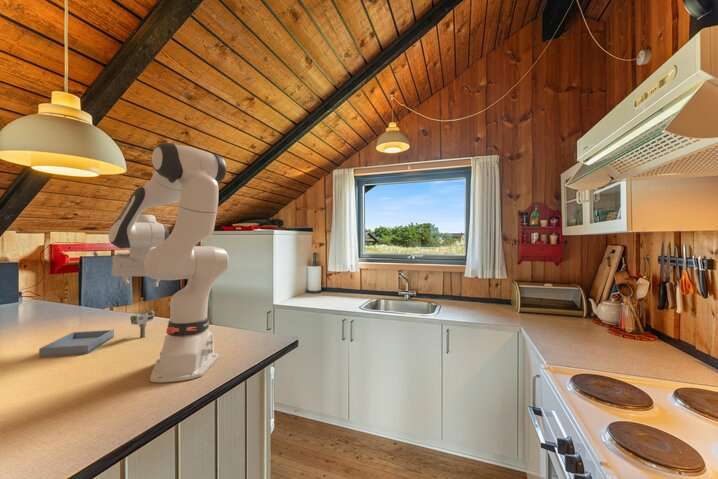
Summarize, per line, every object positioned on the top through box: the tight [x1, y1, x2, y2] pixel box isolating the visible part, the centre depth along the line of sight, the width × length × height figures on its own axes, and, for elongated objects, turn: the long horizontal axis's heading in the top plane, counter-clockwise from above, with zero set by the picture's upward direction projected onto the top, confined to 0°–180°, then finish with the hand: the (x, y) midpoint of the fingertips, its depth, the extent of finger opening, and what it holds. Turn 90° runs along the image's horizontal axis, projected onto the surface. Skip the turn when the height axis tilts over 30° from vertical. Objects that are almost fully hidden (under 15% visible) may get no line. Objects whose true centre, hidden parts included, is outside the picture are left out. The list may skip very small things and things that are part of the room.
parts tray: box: [38, 329, 115, 358], centre depth 110 cm, size 18×14×3 cm
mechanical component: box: [129, 310, 155, 338], centre depth 121 cm, size 3×10×10 cm, turn 174°
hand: (142, 286), depth 121 cm, fingers open, 8 cm apart
